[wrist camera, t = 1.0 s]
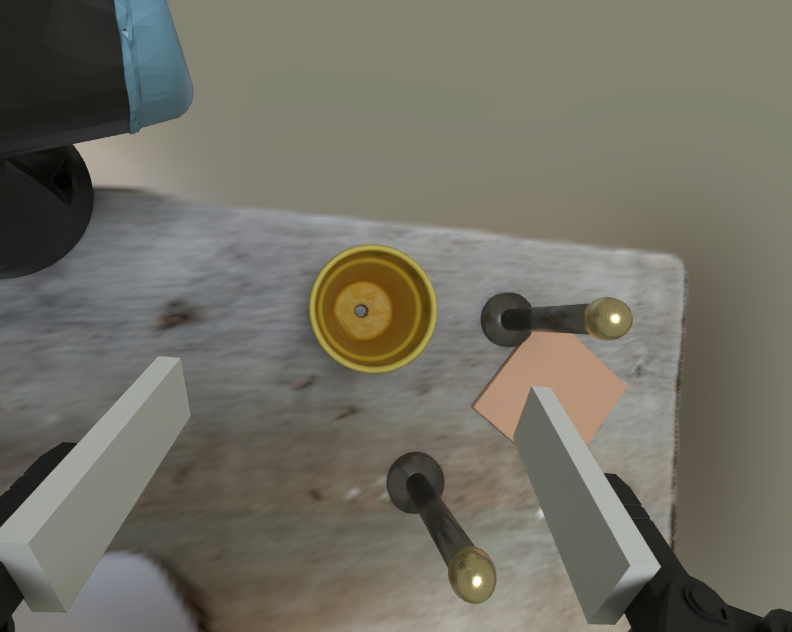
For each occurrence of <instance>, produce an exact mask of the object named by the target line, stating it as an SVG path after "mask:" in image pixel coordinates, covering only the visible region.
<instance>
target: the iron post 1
mask: <svg viewBox="0 0 792 632" xmlns="http://www.w3.org/2000/svg"><path fill="white" fill-rule="evenodd" d="M387 489H388V493H389V495H390V497H391V500H392V501H393V503H394V504H395V506H396V507H398V508H399V509H400V510H402V511H404V512H406V513H411V514H417V513H419V514H420V516H421V518H422V520H423V522H424V524H425V526H426V527H427V529H428V531H429V533H430V535H431V537H432V539H433V540H434V542H435V544H436V546H437V548H438V550H439V552H440V554H441V555H442V557H443V559H444V561H445V563H446V565H447V567H448V578H449V582H450V585H451V587H452V589H453V591H454V592H455V593H456V595H457V596H458V597H459V598H461V599H462V600H463V601H465V602H468V603H471V604H479V603H482V602H484V601H486V600H487V599H488V598H489V597H490V596H491V595H492V593H493V592H494V590H495V586H496V581H497V577H496V570H495V566H494V564H493V562H492V560H491V558H490V557H489V556H488V555H487V554H486V553H485V552H484V551H483V550H481V549H479V548H477V547H475V546H474V545H473V543H472V542H471V540H470V539H469V537H468V536H467V535H466V533H465V532H464V530H463V529H462V528H461V526H460V525H459V523H458V522H457V520H456V519H455V518H454V516H453V515H452V513H451V512H450V510H449V509H448V508H447V506H446V505H445V503H444V502H443V501H442V499H441V498H440V497H441V495H442V492H443V489H444V475H443V472H442V470H441V468H440V466H439V465H438V464H437V462H436V461H435V460H434V459H433V458H432V457H430V456H429V455H427V454H424V453H420V452H413V453H408V454H406V455H404V456H402V457H400V458H399V459H398V460H397V461H396V462H395V463H394V464H393V465H392V467H391V469H390V471H389V473H388V477H387Z"/></svg>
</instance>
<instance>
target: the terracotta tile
mask: <svg viewBox="0 0 792 632" xmlns="http://www.w3.org/2000/svg"><path fill="white" fill-rule="evenodd" d="M531 386H541V387H550V388H551V389H552V391H553V392H554V394H555V396H556V397H557V399H558V401H559V402H560V404H561V405H562V407H563V409H564V410H565V412H566V414H567V415H568V417H569V418H570V420H571V422H572V423H573V425H574V427H575V428H576V430H577V431H578V433H579V435H580V436H581V438H582V440H583V441H584V443H585V444H586V446H587V444H588V443H589V441H590V440H591V438H592V437H593V435H594V434H595V433H596V431H597V430H598V428H599V427H600V425H601V424H602V422H603V421H604V420H605V418H606V417H607V415H608V414H609V412H610V411H611V409H612V408H613V407H614V405H615V404H616V402H617V401H618V399H619V398H620V397H621V395H622V394H623V392H624V391H625V389H626V388H627V386H626V385H625V384H624V383H623V382H622V381H621V380H620V379H619V378H618V377H617V376H616V375H615V374H614V373H613V372H612V371H611V370H610V369H609V368H608V367H607V366H605V365H604V364H603V363H602V362H601V361H600V360H599V359H598V358H597V357H596V356H595V355H594V354H593V353H592V352H591V351H590V350H589V349H588V348H587V347H586V346H584V345H583V344H582V343H581V342H580V341H579V340H578V339H577V338H576V337H575V336H574V335H573V334H572V333H551V332H532V333H531V335H530V336H529V338H528V339H527V340H526V341H525V342H523V343H522V344H520V345H518V346H517V347H516V348H515V349H514V351H513V352H512V353H511V355H510V356H509V357H508V359H507V360H506V361H505V363H504V364H503V365H502V367H501V368H500V369H499V370H498V372H497V373H496V374H495V376H494V377H493V378H492V380H491V381H490V382H489V384H488V385H487V386H486V387H485V389H484V390H483V391H482V393H481V394H480V395H479V397H478V398H477V399H476V401H475V402H474V403H473V405H472V407H473V408H474V409H475V410H476V411H477V412H479V413H480V414H481V415H482V416H483V417H484V418H486V419H487V420H488V421H489V422H490V423H491V424H493V425H494V426H495V427H496V428H497V429H498V430H499V431H501V432H502V433H503V434H504V435H505V436H506V437H508V438H509V439H510V440H511V441H512V442H513V443H515V442H514V439H513V435H514V432H515V429H516V427H517V424H518V421H519V419H520V416H521V413H522V410H523V408H524V405H525V402H526V399H527V397H528V394H529V391H530V388H531Z"/></svg>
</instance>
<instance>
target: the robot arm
mask: <svg viewBox="0 0 792 632" xmlns="http://www.w3.org/2000/svg"><path fill="white" fill-rule="evenodd" d="M192 99H193V86H192V82H191V79H190V75H189V72H188V68H187V65H186V62H185V59H184V55H183V52H182V49H181V45H180V42H179V39H178V36H177V32H176V29H175V26H174V23H173V20H172V17H171V13H170V10H169V7H168V4H167V1H166V0H0V279H1V278H12V277H18V276H22V275H26V274H30V273H33V272H35V271H38V270H41V269H43V268H45V267H47V266H49V265H51V264H52V263H54V262H55V261H57V260H59V259H60V258H61V257H62V256H64V255H65V254H66V253H67V252H68V251H69V250H70V249H71V248H72V247H73V246H74V245H75V244H76V243H77V241H78V240H79V239H80V237H81V236H82V234H83V232H84V231H85V229H86V226H87V224H88V221H89V219H90V215H91V211H92V204H93V189H92V182H91V178H90V175H89V172H88V169H87V167H86V164H85V162H84V161H83V158H82V157H81V155H80V154H79V152H78V151H77V149H76V148H75V147H74V145H73V144H75V143H80V142H85V141H90V140H95V139H100V138H105V137H110V136H115V135H119V134H124V133H130V134H135V133H136V132H139V130H140V129H141V128H142V127H146V126H150V125H153V124H157V123H160V122H164V121H168V120H171V119H175V118H178V117H180V116H181V115H183V114H184V113H185V112H186V111H187V110H188V108H189V106H190V105H191V103H192ZM190 416H191V414H190V409H189V403H188V397H187V391H186V386H185V380H184V374H183V369H182V363H181V358H174V357H162V356H158V357H157V358H156V359H155V360H154V361H153V363H152V364H151V365H150V366H149V367H148V368H147V369H146V370H145V371H144V372H143V373H142V375H141V376H140V377H139V378H138V379H137V380H136V381H135V382H134V383H133V384H132V385H131V386H130V388H129V389H128V390H127V391H126V392H125V393H124V394H123V395H122V396H121V397H120V398H119V399H118V401H117V402H116V403H115V404H114V405H113V406H112V407H111V408H110V409H109V410H108V411H107V412H106V414H105V415H104V416H103V417H102V418H101V419H100V420H99V421H98V422H97V423H96V424H95V426H94V427H93V428H92V429H91V430H90V431H89V432H88V433H87V434H86V435H85V436H84V437H83V439H82V440H81V441H80V442H79V443H67V442H63V443H61V444H59V445H58V446H56V447H55V448H53V449H51V450H50V451H48V452H47V453H45V454H44V455H42V456H41V457H40V458H39V459H38V460H37V461H36V462H35V463H34V464H33V465H32V466H31V467H30V468H29V469H28V470H27V471H26V472H25V473H24V475H23V476H22V477H20V478H19V479H18V480H17V481H16V482H15V483H14V484H13V485H12V486H11V487H10V490H9V491H6V492H5V493H4V494H3V495H2V496H1V497H0V632H15V625H14V621H13V618H12V616H11V615H12V614H13V612H14V611H15V610H16V608H17V607H18V606H19V604H20V603H21V602H22V600H23V599H24V600H25V602H26V603H27V605H28V606H29V608H30V609H31V611H33V612H34V611H35V612H67V611H68V609H69V607H70V606H71V604H72V603H73V601H74V599H75V598H76V596H77V595H78V593H79V592H80V590H81V588H82V587H83V585H84V584H85V582H86V581H87V579H88V577H89V576H90V574H91V573H92V571H93V569H94V568H95V566H96V565H97V563H98V562H99V560H100V558H101V557H102V555H103V554H104V552H105V551H106V549H107V547H108V546H109V544H110V543H111V541H112V539H113V538H114V536H115V535H116V533H117V532H118V530H119V528H120V527H121V525H122V524H123V522H124V520H125V519H126V517H127V516H128V514H129V513H130V511H131V509H132V508H133V506H134V505H135V503H136V502H137V500H138V498H139V497H140V495H141V494H142V492H143V490H144V489H145V487H146V486H147V484H148V483H149V481H150V479H151V478H152V476H153V475H154V473H155V471H156V470H157V468H158V467H159V465H160V464H161V462H162V460H163V459H164V457H165V456H166V454H167V453H168V451H169V449H170V448H171V446H172V445H173V443H174V441H175V440H176V438H177V437H178V435H179V434H180V432H181V430H182V429H183V427H184V426H185V424H186V422H187V421H188V419H189V418H190ZM513 439H514V442H515V444H516V447H517V449H518V452H519V454H520V457H521V459H522V461H523V464H524V466H525V469H526V471H527V474H528V476H529V479H530V481H531V484H532V486H533V489H534V491H535V494H536V496H537V499H538V501H539V504H540V506H541V508H542V511H543V513H544V516H545V518H546V521H547V523H548V526H549V528H550V531H551V533H552V536H553V538H554V541H555V543H556V546H557V548H558V551H559V553H560V555H561V558H562V560H563V563H564V565H565V568H566V570H567V573H568V575H569V578H570V580H571V583H572V585H573V588H574V590H575V593H576V595H577V598H578V600H579V602H580V605H581V607H582V610H583V612H584V615H585V617H586V620H587V622H588V624H610V625H615V624H616V623H617V622H618V620H619V619H620V618H621V617H622V615H623V614H624V613H625V615H626V617H627V619H628V621H629V624H630V626H631V628H630V630H629V631H628V632H792V612H790V611H786V610H783V609H775V610H771V611H770V612H769V613H768V614H767V615H766V616H765V617H760V616H757V615H754V614H752V613H749V612H746V611H744V610H741V609H738V608H735V607H733V606H730V605H727V604H726V603H725V602H724V601H723V600H722V599H721V598H720V597H719V595H718V594H717V593H716V592H715V591H714V590H712V589H711V588H710V587H709V586H707V585H706V584H705V583H703V582H702V581H699V580H697V579H695V578H693V577H691V576H689V575H688V574H687V572H686V571H685V569H684V568H683V566H682V565H681V563H680V562H679V560H678V559H677V557H676V556H675V554H674V553H673V551H672V550H671V548H670V547H669V545H668V544H667V542H666V541H665V539H664V538H663V536H662V535H661V533H660V532H659V530H658V529H657V527H656V526H655V524H654V523H653V521H651V520H650V517H649V515H648V514H647V512H646V511H645V509H644V508H643V507H641V503H640V502H639V500H638V499H637V497H636V496H635V494H634V493H633V491H632V490H631V488H630V487H629V486H628V485H627V484H626V483H625V482H623V481H622V480H621V479H620V478H619V477H618V476H617V475H616V474H608V473H603V472H602V470H601V469H600V467H599V466H598V464H597V462H596V461H595V459H594V457H593V456H592V454H591V453H590V451H589V449H588V448H587V446H586V444H585V443H584V441H583V440H582V438H581V436H580V435H579V433H578V431H577V430H576V428H575V427H574V425H573V423H572V422H571V420H570V418H569V417H568V415H567V414H566V412H565V410H564V409H563V407H562V405H561V404H560V402H559V401H558V399H557V397H556V396H555V394H554V392H553V391H552V389H551V388H550V387H541V386H531V388H530V391H529V394H528V397H527V399H526V402H525V405H524V408H523V410H522V413H521V416H520V419H519V421H518V424H517V427H516V429H515V432H514V435H513Z"/></svg>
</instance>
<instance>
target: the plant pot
mask: <svg viewBox="0 0 792 632" xmlns="http://www.w3.org/2000/svg"><path fill="white" fill-rule="evenodd" d="M359 305H363V306H365V307H366V309H367V314H366V316H364V317H359V316H357V315H356V313H355V309H356V307H357V306H359ZM309 317H310V322H311V326H312V329H313V332H314V334H315V336H316V338H317V340H318V342H319V344H320V345H321V346H322V348H323V349H324V350H325V351H326V353H327V354H328V355H330V356H331V357H332V358H333V359H334V360H336V361H337V362H338V363H340V364H342V365H343V366H345V367H347V368H349V369H352V370H355V371H358V372H363V373H385V372H389V371H393V370H396V369H398V368H401V367H403V366H405V365H406V364H408V363H410V362H411V361H412V360H414V359H415V358H416V357H417V356H418V355H419V354H420V353H421V352H422V351H423V349H424V348H425V347H426V345H427V344H428V342H429V340H430V338H431V336H432V334H433V331H434V328H435V324H436V318H437V301H436V296H435V292H434V289H433V286H432V284H431V282H430V280H429V278H428V276H427V274H426V273H425V272H424V270H423V269H422V268H421V267H420V266H419V264H417V263H416V262H415V261H414V260H413V259H412V258H410V257H409V256H408V255H406V254H404V253H403V252H401V251H399V250H396V249H394V248H391V247H388V246H383V245H374V244H372V245H360V246H355V247H352V248H349V249H347V250H345V251H343V252H341V253H339V254H338V255H336V256H335V257H334V258H332V259H331V260H330V261H329V262H328V263H327V264H326V265H325V266H324V267H323V268H322V270H321V271H320V272H319V274H318V276H317V278H316V279H315V282H314V284H313V287H312V290H311V293H310V299H309Z"/></svg>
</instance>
